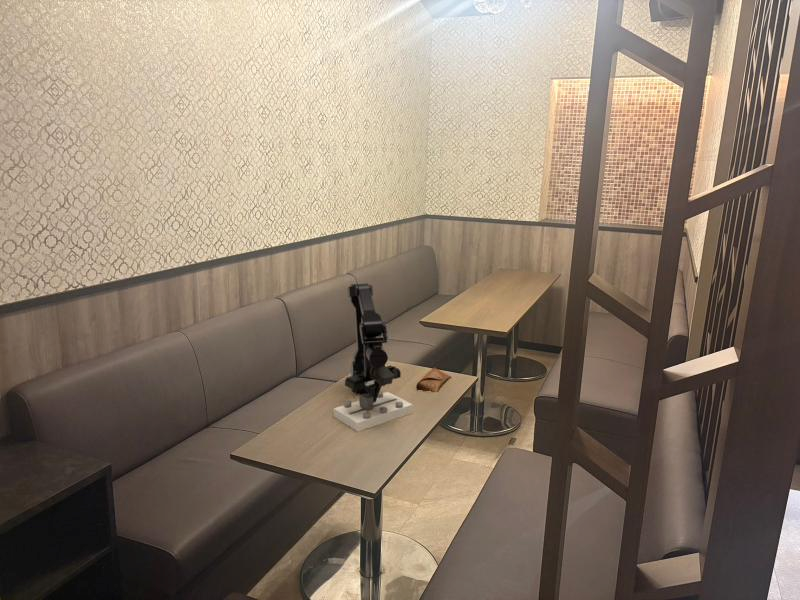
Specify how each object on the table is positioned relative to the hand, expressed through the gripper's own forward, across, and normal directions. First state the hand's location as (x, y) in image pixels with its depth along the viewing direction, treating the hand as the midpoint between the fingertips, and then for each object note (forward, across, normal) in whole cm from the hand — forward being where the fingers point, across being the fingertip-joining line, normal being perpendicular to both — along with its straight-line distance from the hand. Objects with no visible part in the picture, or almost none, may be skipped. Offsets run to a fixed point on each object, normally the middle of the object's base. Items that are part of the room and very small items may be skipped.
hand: (373, 402), depth 193 cm
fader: (+1, -3, 0) cm, 3 cm away
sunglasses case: (+5, +34, +8) cm, 35 cm away
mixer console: (+4, 0, 0) cm, 5 cm away
